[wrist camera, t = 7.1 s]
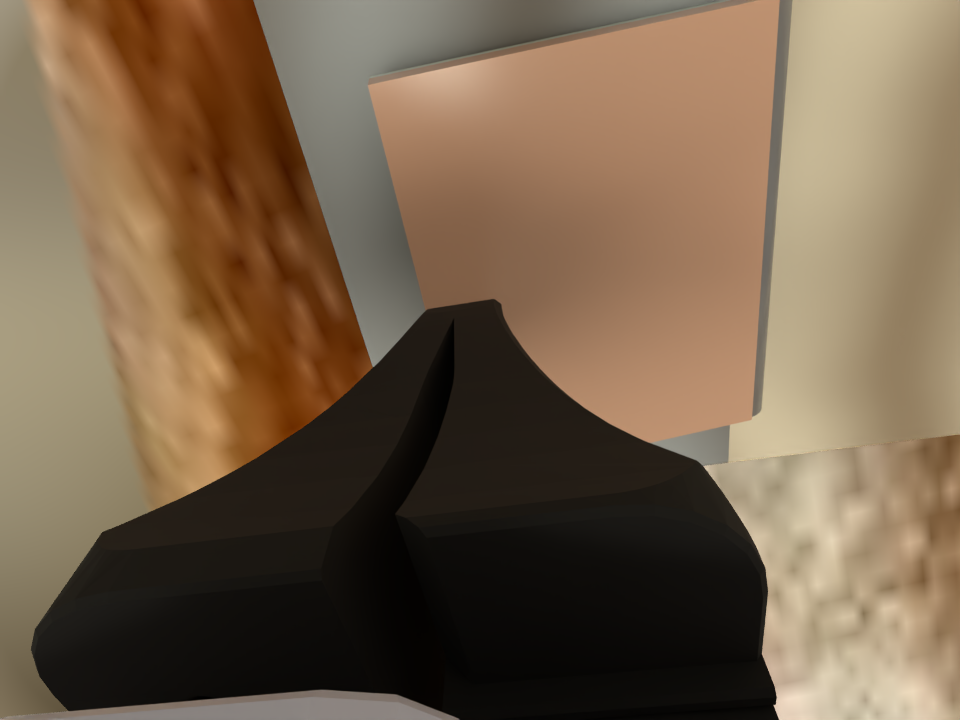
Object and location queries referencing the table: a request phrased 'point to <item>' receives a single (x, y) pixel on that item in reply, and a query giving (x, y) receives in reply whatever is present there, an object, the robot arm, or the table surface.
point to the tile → (608, 203)
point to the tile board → (800, 207)
